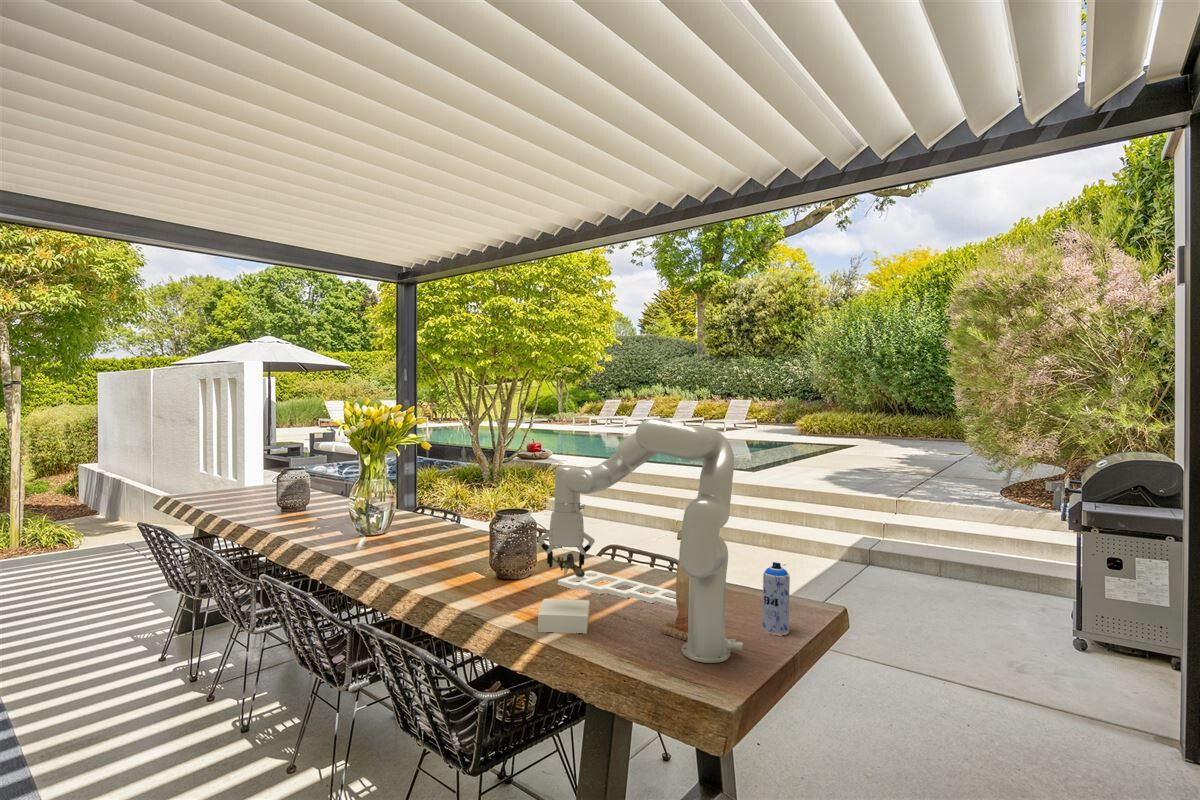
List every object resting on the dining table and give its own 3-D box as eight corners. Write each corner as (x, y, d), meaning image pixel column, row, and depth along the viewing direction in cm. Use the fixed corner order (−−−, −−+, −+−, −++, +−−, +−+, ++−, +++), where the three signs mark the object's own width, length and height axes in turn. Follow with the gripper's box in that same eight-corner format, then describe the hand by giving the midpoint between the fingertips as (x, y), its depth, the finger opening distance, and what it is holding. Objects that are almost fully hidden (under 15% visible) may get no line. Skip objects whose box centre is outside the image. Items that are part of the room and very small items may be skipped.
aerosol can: (756, 630, 177) (757, 562, 177) (769, 624, 182) (770, 557, 183) (781, 638, 171) (783, 567, 172) (793, 631, 177) (795, 563, 177)
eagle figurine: (547, 570, 177) (570, 570, 171) (554, 547, 180) (577, 546, 175) (564, 580, 181) (586, 580, 176) (570, 557, 185) (592, 557, 179)
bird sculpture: (680, 624, 182) (679, 517, 182) (715, 633, 174) (714, 521, 175) (660, 635, 173) (659, 523, 174) (695, 645, 166) (694, 527, 166)
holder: (693, 604, 201) (693, 596, 201) (663, 618, 187) (663, 609, 187) (589, 577, 229) (590, 570, 229) (557, 587, 216) (557, 580, 216)
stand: (588, 616, 185) (589, 600, 185) (586, 633, 171) (587, 616, 171) (543, 615, 186) (543, 598, 186) (537, 632, 172) (538, 614, 172)
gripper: (596, 506, 182) (595, 564, 182) (539, 504, 183) (538, 562, 183) (595, 510, 175) (594, 571, 175) (536, 509, 175) (534, 569, 175)
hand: (565, 566), depth 179 cm, fingers closed on eagle figurine, 8 cm apart
